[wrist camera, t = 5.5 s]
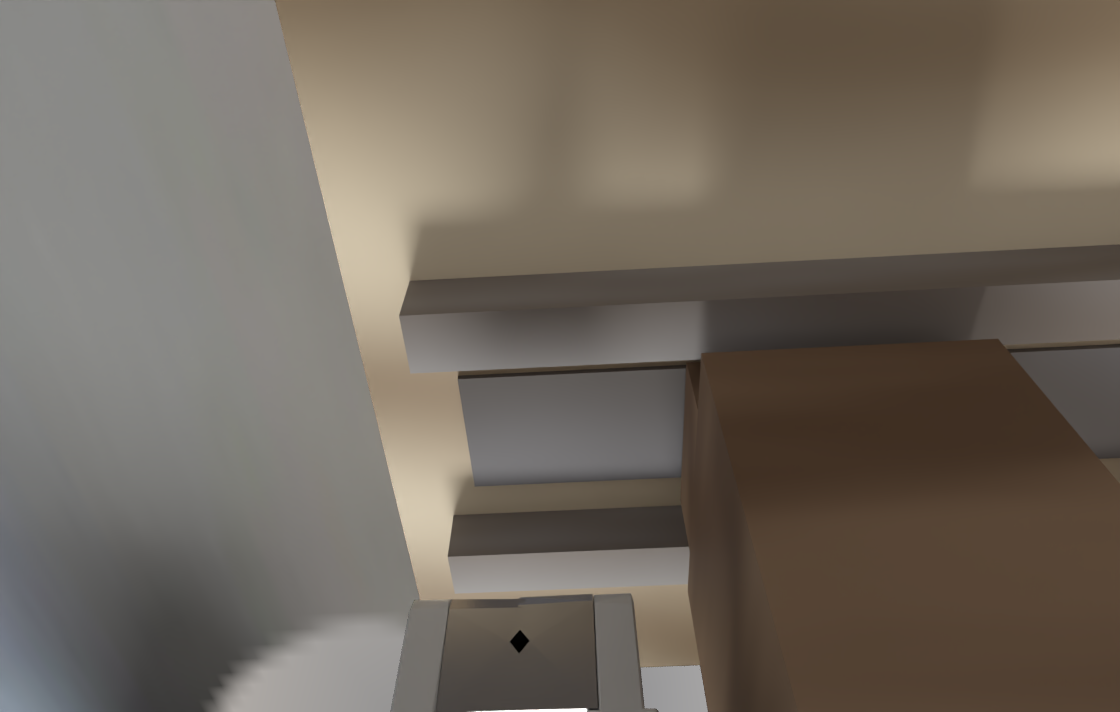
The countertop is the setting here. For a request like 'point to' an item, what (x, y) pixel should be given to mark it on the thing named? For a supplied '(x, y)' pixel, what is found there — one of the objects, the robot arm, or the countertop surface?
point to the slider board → (688, 240)
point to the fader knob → (896, 534)
